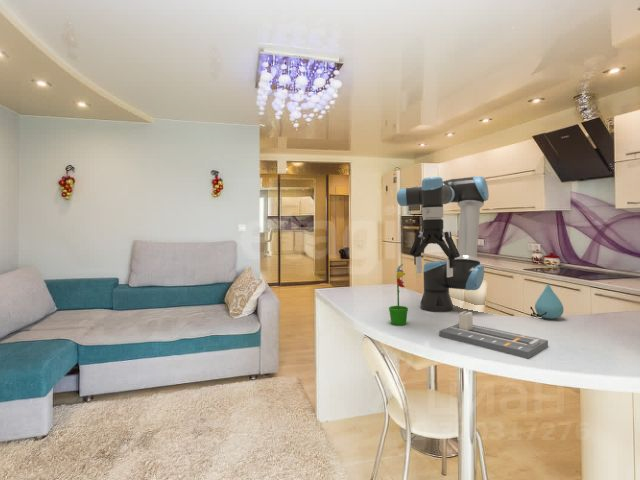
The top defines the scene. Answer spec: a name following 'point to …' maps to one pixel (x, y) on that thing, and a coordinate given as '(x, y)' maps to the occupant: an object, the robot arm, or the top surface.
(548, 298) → the toy
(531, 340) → the console
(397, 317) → the potted flower
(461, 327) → the fader tab
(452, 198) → the robot arm
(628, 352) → the top surface
